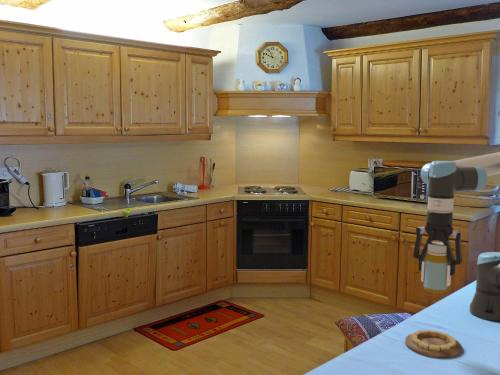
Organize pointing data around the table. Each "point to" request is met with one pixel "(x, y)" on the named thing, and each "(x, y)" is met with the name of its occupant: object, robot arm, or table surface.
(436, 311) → the table surface
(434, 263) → the bottle
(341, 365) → the table surface
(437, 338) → the ring tray
